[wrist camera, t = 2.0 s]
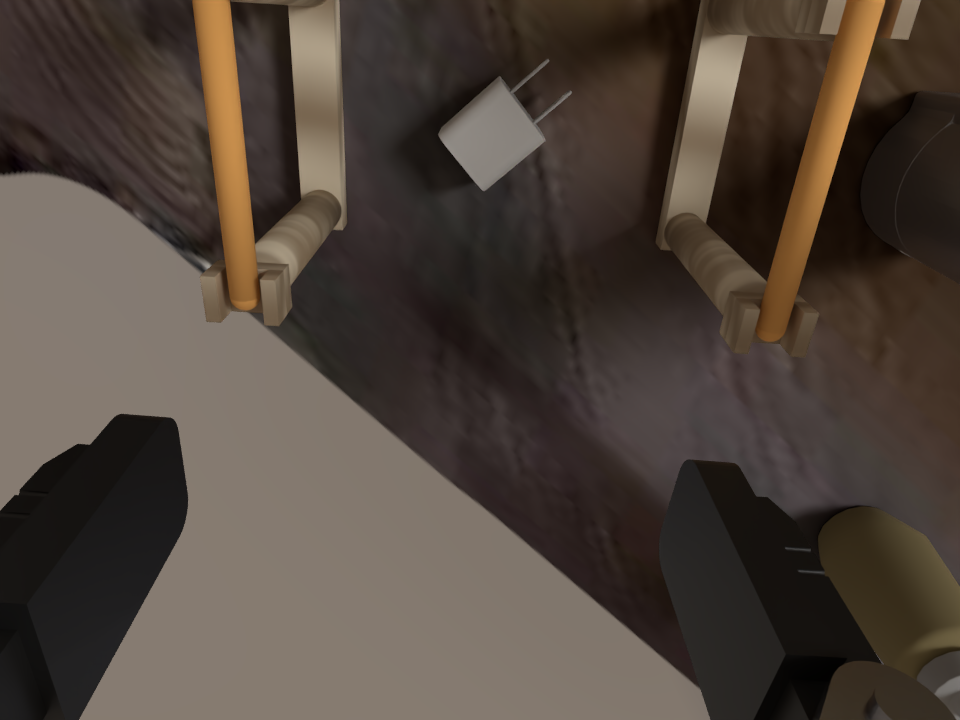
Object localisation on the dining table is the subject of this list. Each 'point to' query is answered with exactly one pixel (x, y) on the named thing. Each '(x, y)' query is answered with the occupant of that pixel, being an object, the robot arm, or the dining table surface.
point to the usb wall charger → (494, 132)
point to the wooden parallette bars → (692, 173)
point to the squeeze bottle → (897, 596)
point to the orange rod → (227, 148)
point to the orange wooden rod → (818, 163)
